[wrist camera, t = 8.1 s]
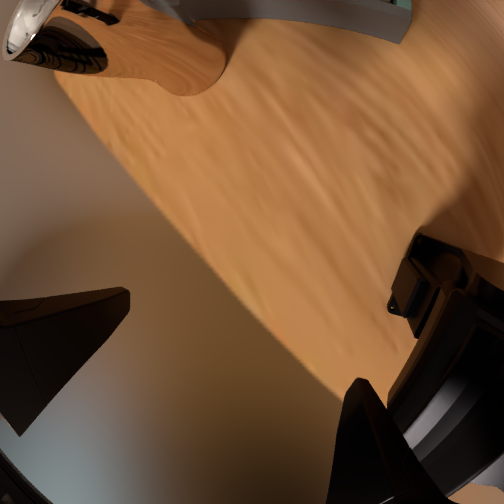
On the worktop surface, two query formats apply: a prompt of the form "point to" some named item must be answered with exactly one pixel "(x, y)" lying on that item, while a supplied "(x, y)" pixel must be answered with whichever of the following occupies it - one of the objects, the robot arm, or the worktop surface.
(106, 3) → the beer glass
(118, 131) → the worktop surface
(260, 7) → the bay
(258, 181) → the worktop surface
